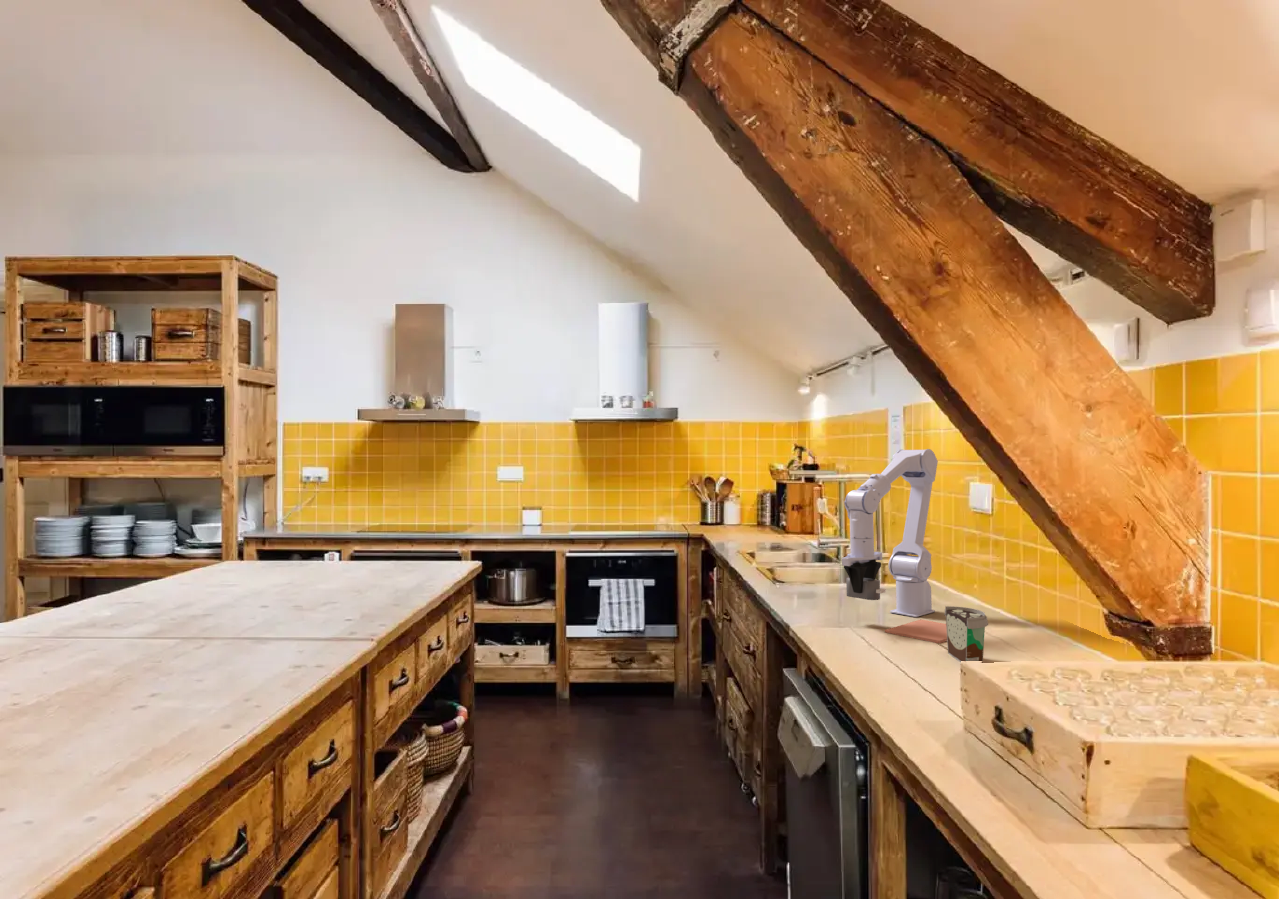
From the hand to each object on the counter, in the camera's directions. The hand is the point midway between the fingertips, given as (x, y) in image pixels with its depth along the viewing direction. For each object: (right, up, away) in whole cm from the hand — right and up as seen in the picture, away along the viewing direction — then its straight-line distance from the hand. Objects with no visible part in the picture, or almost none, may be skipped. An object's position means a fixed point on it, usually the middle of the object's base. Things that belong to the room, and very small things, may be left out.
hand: (863, 591), depth 187 cm
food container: (+13, -8, -32) cm, 36 cm away
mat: (+13, -8, -9) cm, 18 cm away
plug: (0, -1, 0) cm, 1 cm away
